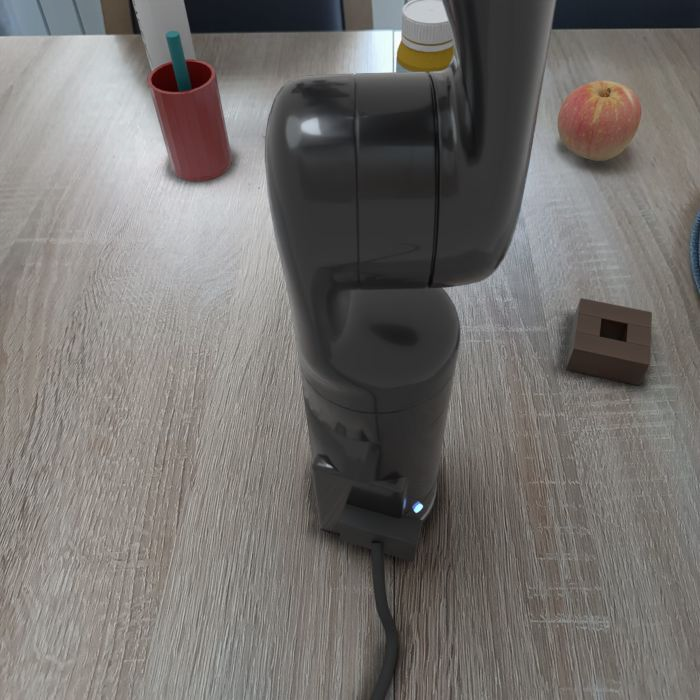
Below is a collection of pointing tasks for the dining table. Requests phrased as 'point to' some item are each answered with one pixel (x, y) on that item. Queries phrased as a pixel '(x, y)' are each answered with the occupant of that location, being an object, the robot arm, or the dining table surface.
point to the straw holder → (610, 341)
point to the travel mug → (163, 28)
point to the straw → (178, 61)
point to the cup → (191, 121)
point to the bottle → (424, 38)
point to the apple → (599, 120)
